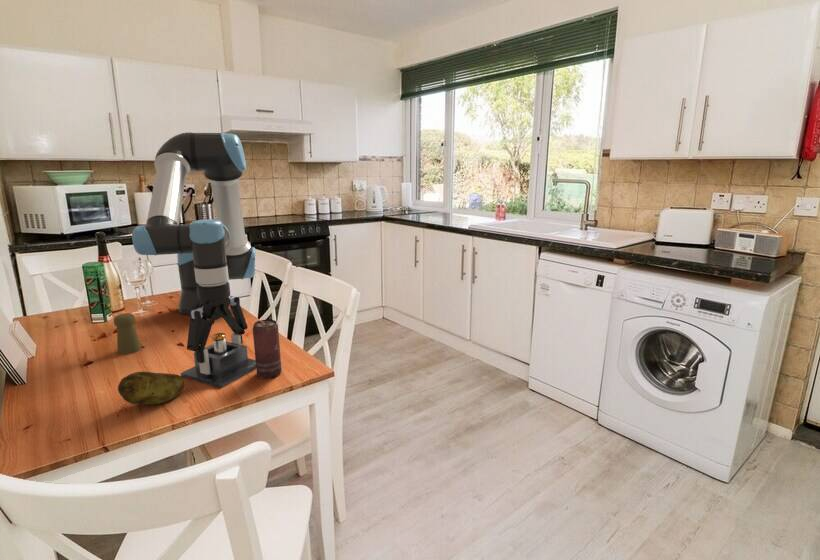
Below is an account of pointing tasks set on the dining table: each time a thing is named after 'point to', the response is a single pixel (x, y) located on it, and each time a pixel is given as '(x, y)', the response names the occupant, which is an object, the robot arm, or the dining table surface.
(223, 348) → the post
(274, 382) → the dining table surface
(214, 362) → the grey open square box
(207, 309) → the robot arm
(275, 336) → the can
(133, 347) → the cork
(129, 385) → the green avocado
